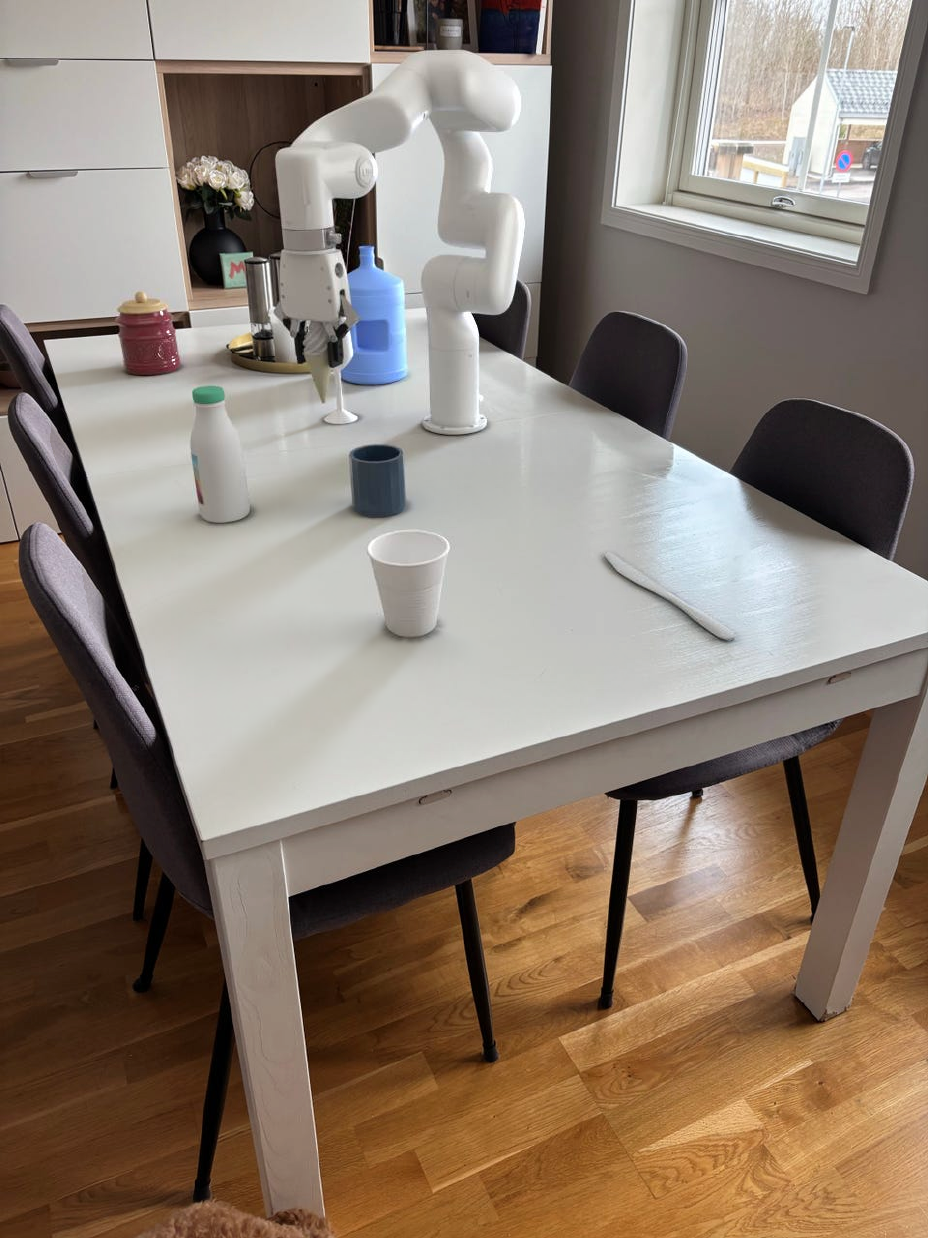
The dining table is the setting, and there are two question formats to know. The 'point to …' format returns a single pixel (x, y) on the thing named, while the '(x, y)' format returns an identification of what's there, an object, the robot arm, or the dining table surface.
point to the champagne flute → (340, 414)
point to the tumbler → (377, 480)
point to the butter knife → (670, 597)
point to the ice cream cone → (318, 356)
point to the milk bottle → (217, 459)
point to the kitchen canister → (147, 336)
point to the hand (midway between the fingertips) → (320, 362)
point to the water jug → (376, 325)
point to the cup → (409, 578)
